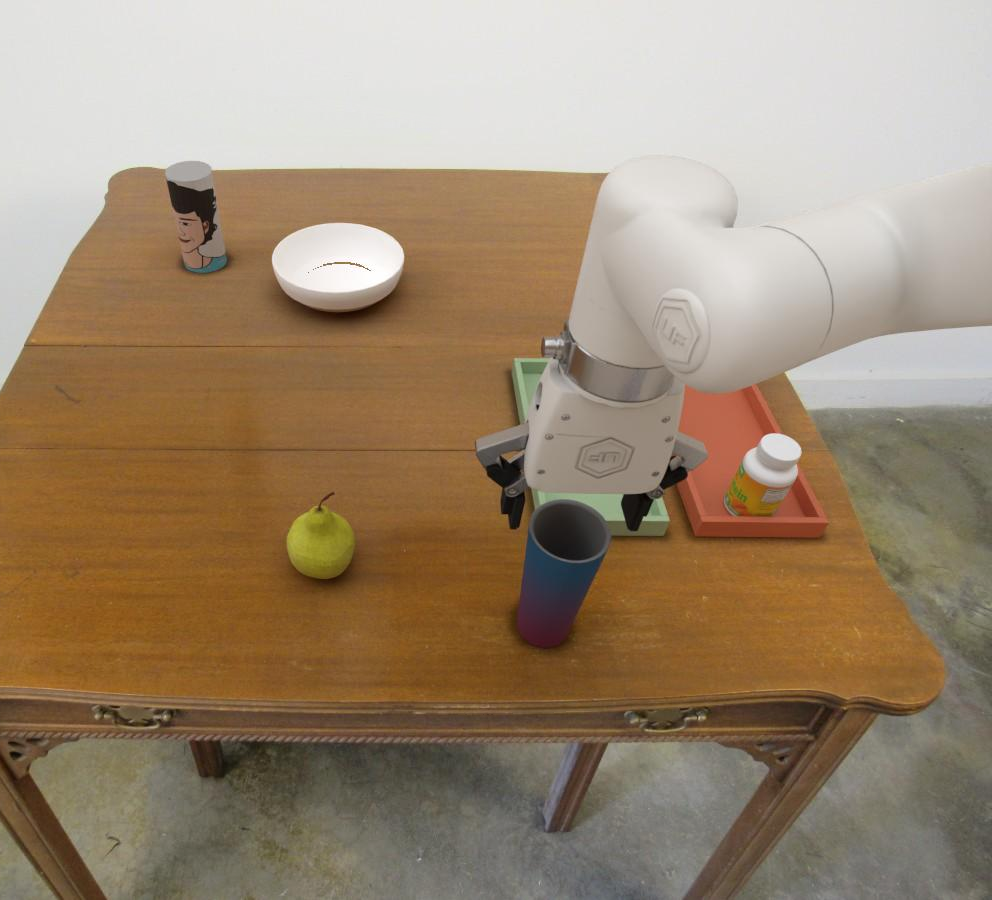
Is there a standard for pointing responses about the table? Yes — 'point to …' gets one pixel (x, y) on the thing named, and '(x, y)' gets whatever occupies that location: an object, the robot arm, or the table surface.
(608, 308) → the robot arm
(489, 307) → the table surface
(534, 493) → the sage tray
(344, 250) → the bowl
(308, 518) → the fruit
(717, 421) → the terracotta tray
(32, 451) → the table surface
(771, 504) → the supplement bottle
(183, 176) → the white printed cylinder
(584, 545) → the cup
